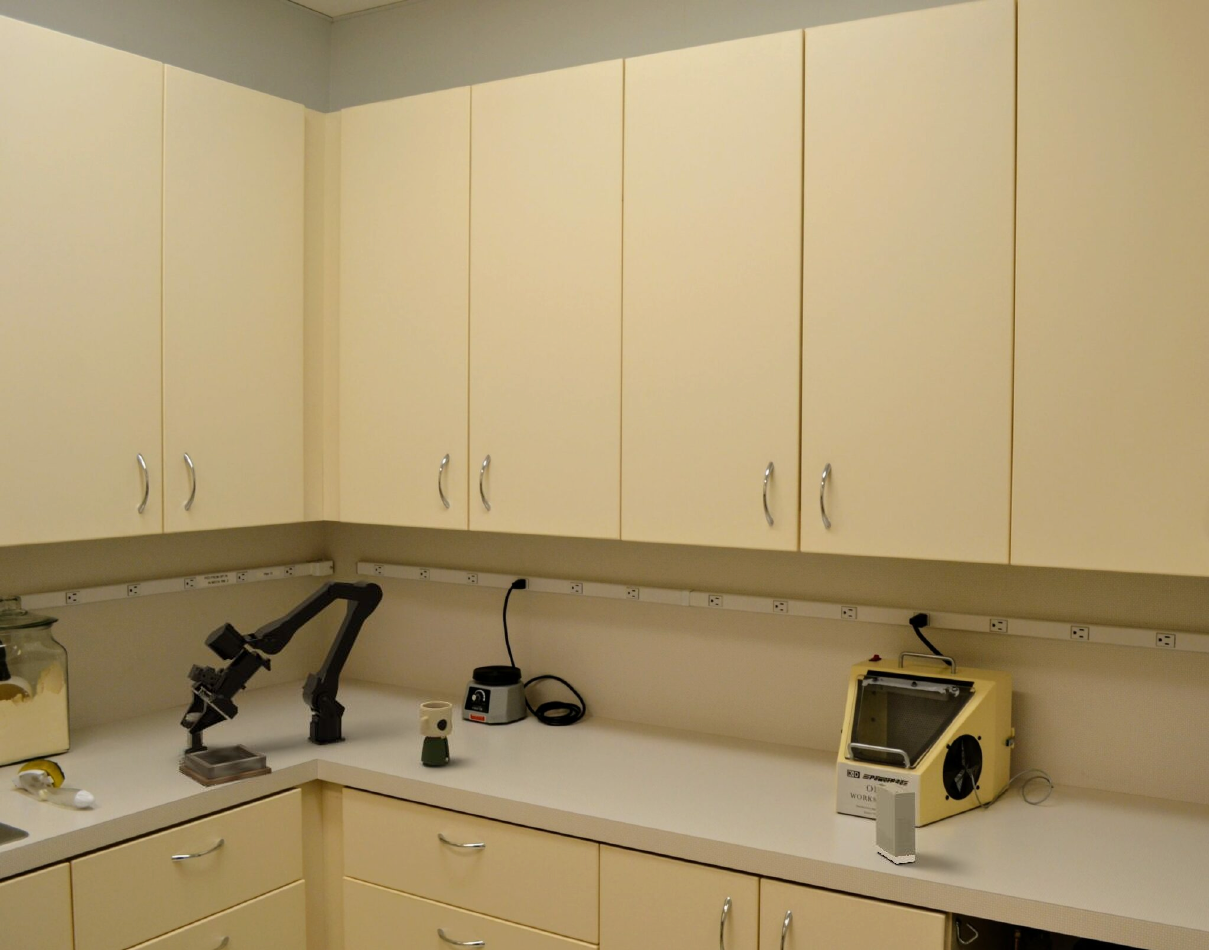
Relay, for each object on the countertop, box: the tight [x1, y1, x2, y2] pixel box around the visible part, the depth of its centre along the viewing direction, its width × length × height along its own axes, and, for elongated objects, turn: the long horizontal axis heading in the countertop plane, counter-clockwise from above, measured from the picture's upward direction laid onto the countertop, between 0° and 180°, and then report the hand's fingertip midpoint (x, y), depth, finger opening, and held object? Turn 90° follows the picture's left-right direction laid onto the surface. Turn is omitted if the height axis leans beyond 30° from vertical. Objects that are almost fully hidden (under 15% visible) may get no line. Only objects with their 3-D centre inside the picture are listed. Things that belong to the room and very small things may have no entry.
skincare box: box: [874, 781, 916, 857], centre depth 177 cm, size 6×4×12 cm
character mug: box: [419, 700, 453, 766], centre depth 226 cm, size 11×7×13 cm, turn 154°
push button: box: [178, 713, 208, 763], centre depth 226 cm, size 7×5×10 cm
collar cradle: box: [178, 743, 273, 787], centre depth 218 cm, size 14×14×4 cm
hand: (185, 729), depth 225 cm, fingers open, 8 cm apart
